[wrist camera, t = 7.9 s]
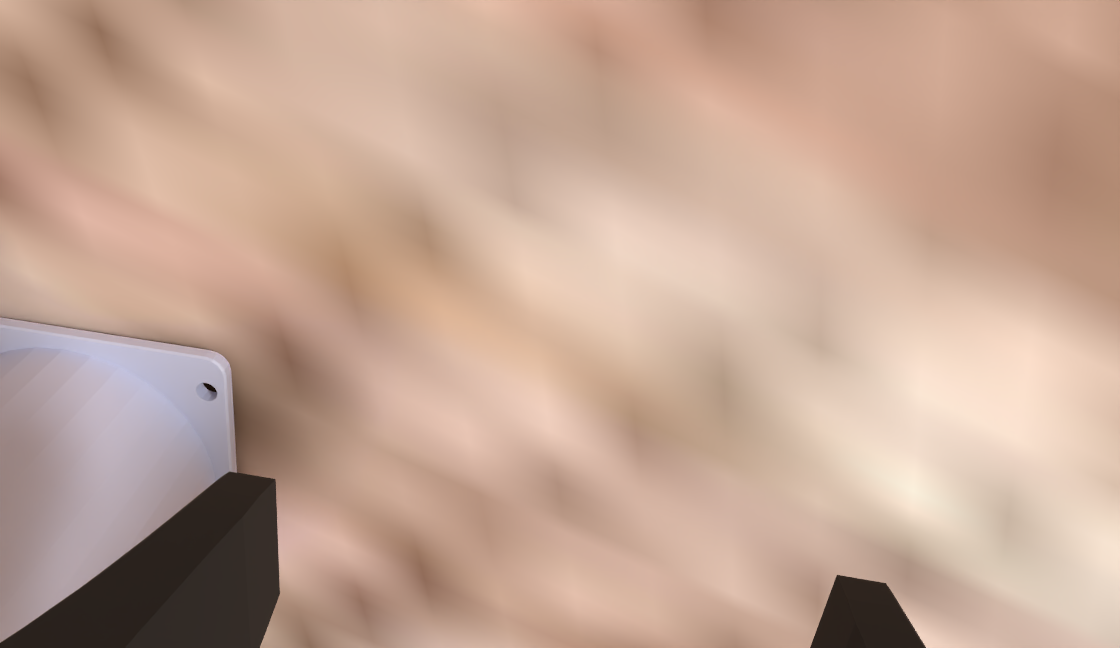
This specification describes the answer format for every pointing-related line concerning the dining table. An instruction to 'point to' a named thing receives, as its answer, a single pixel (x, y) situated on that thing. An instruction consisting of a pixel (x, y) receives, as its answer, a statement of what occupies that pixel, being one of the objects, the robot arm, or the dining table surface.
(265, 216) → the dining table surface
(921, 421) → the dining table surface
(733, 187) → the dining table surface
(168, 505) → the robot arm
